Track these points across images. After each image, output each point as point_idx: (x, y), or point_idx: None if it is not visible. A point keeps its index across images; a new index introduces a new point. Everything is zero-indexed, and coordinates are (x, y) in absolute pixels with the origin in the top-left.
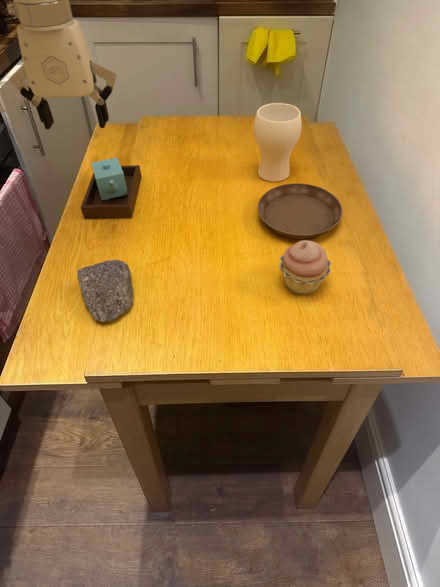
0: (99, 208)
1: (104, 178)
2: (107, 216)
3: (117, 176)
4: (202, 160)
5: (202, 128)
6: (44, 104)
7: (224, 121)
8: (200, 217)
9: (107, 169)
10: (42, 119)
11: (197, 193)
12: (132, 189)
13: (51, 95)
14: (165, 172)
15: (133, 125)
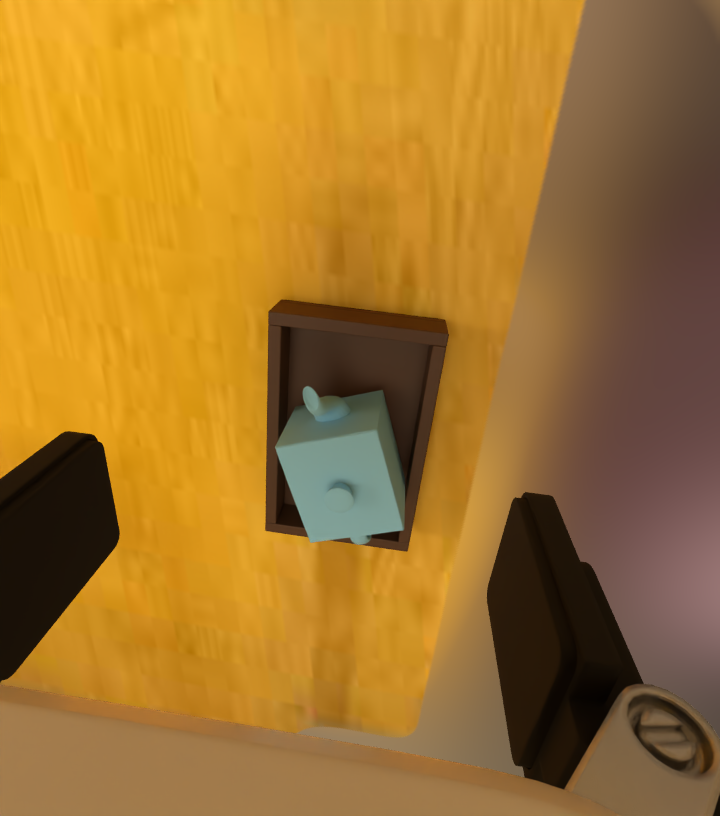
0: (379, 323)
1: (346, 433)
2: (362, 311)
3: (299, 439)
4: None
5: (134, 672)
6: (544, 714)
7: (81, 686)
8: (55, 267)
9: (337, 479)
10: (575, 554)
11: (90, 394)
12: (270, 408)
13: (362, 779)
14: (206, 510)
15: (325, 720)
